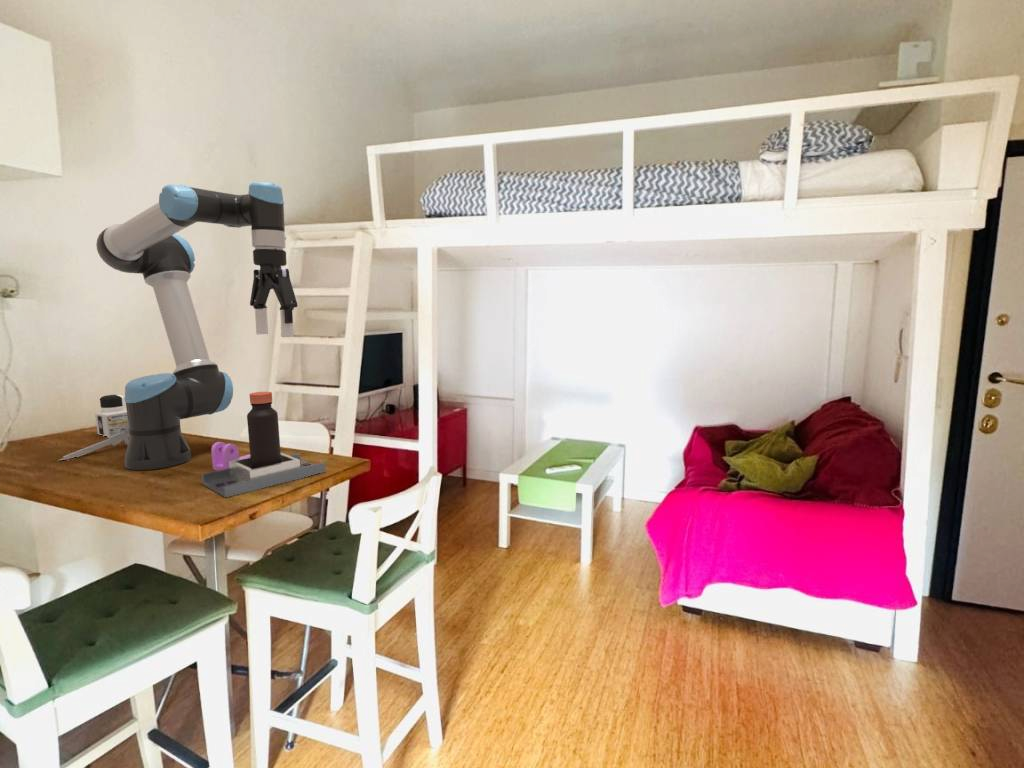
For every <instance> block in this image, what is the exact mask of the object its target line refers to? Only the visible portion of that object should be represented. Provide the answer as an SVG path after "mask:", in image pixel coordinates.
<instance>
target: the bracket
mask: <svg viewBox="0 0 1024 768" xmlns="http://www.w3.org/2000/svg"><path fill="white" fill-rule="evenodd" d="M210 451H211V452H210V453H211V463H212V470H213V469H214V471H218V470H223V469H227V468H229V461H232V460H237V459H242V458H246V457H250V453H249V454H246V455H242V456H240V454H239V452H240V450H239V447H238V445H236V444H234V443H225V442H222V441H217V442H214V443H213V444H212V445H211V449H210Z"/></svg>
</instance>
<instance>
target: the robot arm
mask: <svg viewBox="0 0 1024 768" xmlns="http://www.w3.org/2000/svg"><path fill="white" fill-rule="evenodd" d="M247 192H248V193H247V194H232V193H227V192H221V191H216V190H208V189H202V188H197V187H191V186H187V185H185V184H184V185H183V184H166V185H164V186H163V187H162V189H161V191H160V192H159V195H158V202H157V203H155V204H154V205H151V206H150V207H148V208H147V209H145V210H144V211H142V212H140V213H139V214H136V215H135V216H133V217H131V218H130V219H128V220H127V221H125V222H123V223H114V224H112V225H109V226H108V227H106V228H105V229H103V230H102V231H101V233H100V234H99V235H98V237H97V239H96V246H95V247H96V251H97V253H98V255H99V257H100V258H101V260H102V261H103V262H104V263H105V264H106V265H107V266H108V267H110V268H112V269H113V270H116V271H118V272H122V273H127V274H139V275H141V274H142V276H143V280H144V282H145V284H146V285H148V286H151V288H152V289H153V292H154V296H155V298H156V299H155V300H156V303H157V305H158V309H159V312H160V316H161V320H162V322H163V325H164V329H165V332H166V335H167V339H168V342H169V346H170V350H171V353H172V356H173V359H174V362H175V369H174V370H173V372H172V373H170V372H169V373H167V372H166V373H163V372H162V373H158V374H157V373H156V374H149V375H144V376H141V377H137V378H134V379H131V380H129V381H128V382H127V383H126V384H125V386H124V399H125V409H126V410H127V417H128V425H129V433H130V437H129V438H128V439H129V443H128V446H127V449H126V450H125V454H124V466H125V468H126V469H128V470H133V471H145V470H146V471H147V470H149V471H151V470H157V469H164V468H170V467H173V466H174V467H175V466H178V465H180V464H183V463H186V462H188V461H190V460H191V459H192V454H191V448H190V447H189V445H188V442H187V441H186V439H185V437H184V435H183V433H182V430H181V429H182V428H181V420H185V419H191V418H195V417H201V416H205V415H213V414H216V413H220V412H223V411H225V410H226V409H228V407H229V406H230V404H231V402H232V400H233V396H234V386H233V382H232V381H233V380H232V378H231V376H229V374H227V372H225V371H220V369H219V366H218V364H217V363H215V362H213V361H212V360H211V359H210V357H209V353H208V350H207V346H206V343H205V339H204V337H203V333H202V329H201V326H200V323H199V319H198V316H197V313H196V309H195V306H194V303H193V299H192V295H191V292H190V289H189V286H188V281H189V280H190V279H191V277H192V276H191V273H192V272H193V271H194V269H195V267H196V266H195V265H196V264H195V261H196V258H195V253H194V251H193V248H192V246H191V245H190V243H189V241H188V240H186V239H185V238H184V237H182V236H180V235H178V233H179V232H180V231H182V230H184V229H187V228H188V227H189V226H191V225H194V224H195V223H207V224H216V225H223V226H225V227H228V228H238V229H239V228H242V227H243V228H245V227H251V229H250V230H251V245H252V247H253V248H254V249H253V251H252V258H253V264H254V265H255V266H259V269H253V280H252V281H253V282H252V288H251V295H250V301H249V305H250V307H252V308H253V309H254V314H255V329H256V332H255V333H256V335H269V327H268V310H267V309H268V307H267V301H268V298H269V294H270V293H271V290H273V292H274V293H275V296H276V298H277V301H278V302H279V305H280V307H279V315H280V329H281V338H294V337H295V335H294V334H295V333H294V318H293V310H294V309H295V308H298V306H299V305H298V301H297V298H296V295H295V291H294V288H293V284H292V281H291V278H290V277H291V276H290V271H289V268H282V267H285V266H287V252H286V250H284V249H285V248H286V241H287V237H286V234H285V231H286V230H285V211H284V210H285V207H284V205H285V202H284V197H283V190H282V188H281V186H280V185H279V184H276V183H274V182H272V183H271V182H266V181H265V182H263V181H254V182H251V183H250V184H249V186H248V191H247Z"/></svg>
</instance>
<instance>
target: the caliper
mask: <svg viewBox="0 0 1024 768" xmlns="http://www.w3.org/2000/svg"><path fill="white" fill-rule="evenodd" d="M124 429H125V432H121V433H118V434H116V435H113V436H111V437H107V438H108V439H104V440H102V441H100V442H97V443H94V444H92V445H89V446H87V447H84V448H81V449H79V450H76V451H74V452H71V453H68V454H66V455H64V456H62V458H60V459H59V460H65V459H69V458H74V457H77V458H79V457H82V456H84V455H87V454H89V453H91V452H94V451H97V450H100V449H102V448H104V447H107V446H109V445H110V446H113V447H115V446H116V445H119V444H120V443H122V442H123V443H124V444H125V445H126V446H127V447H128V443H129V439H130V433H129V426H128V429H127V428H124ZM74 459H75V458H74Z"/></svg>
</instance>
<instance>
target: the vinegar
mask: <svg viewBox="0 0 1024 768" xmlns="http://www.w3.org/2000/svg"><path fill="white" fill-rule="evenodd" d="M249 403H250V406H251V409H250V411H249V412H248V413H247V414H246V418H247V419H246V421H247V422H246V423H247V431H248V432H247V433H248V434H247V435H248V444H249V446H248V447H249V454H250V458H251V469H255V468H259V467H264V466H268V465H273V464H277V463H281V453H282V451H281V443H280V442H281V441H280V428H279V427H280V425H279V413H278V411H277V410H276V409H274V408H273V407H272V404H273V393H272V392H271V391H257V392H251V393H249Z"/></svg>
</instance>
